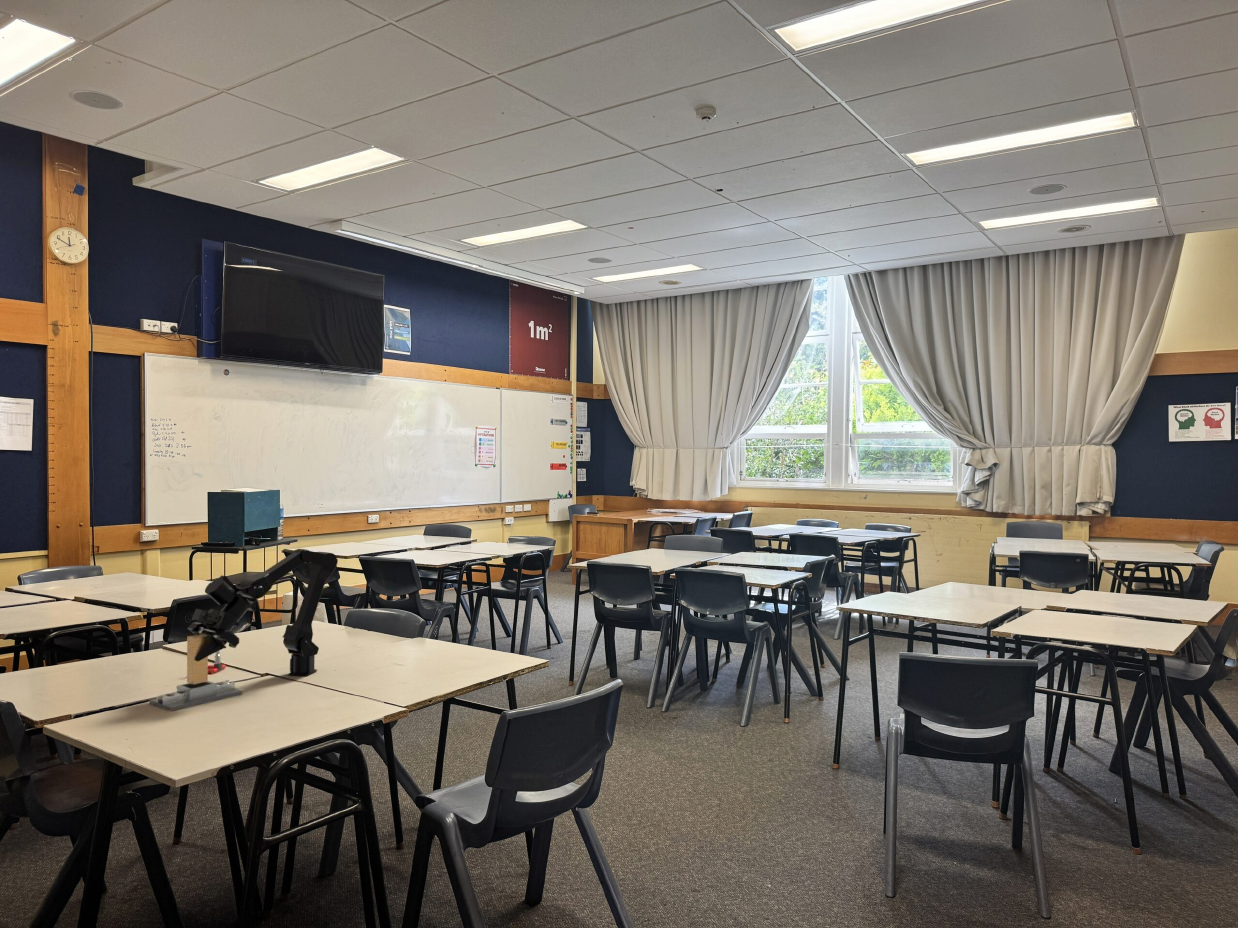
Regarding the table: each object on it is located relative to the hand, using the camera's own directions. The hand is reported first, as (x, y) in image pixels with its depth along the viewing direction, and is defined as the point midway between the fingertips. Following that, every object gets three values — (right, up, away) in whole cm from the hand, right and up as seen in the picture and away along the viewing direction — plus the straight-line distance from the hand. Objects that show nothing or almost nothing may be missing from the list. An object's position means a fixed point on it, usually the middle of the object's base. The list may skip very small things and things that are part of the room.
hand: (192, 659), depth 222 cm
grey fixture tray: (+1, -11, +1) cm, 11 cm away
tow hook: (-12, -12, +31) cm, 35 cm away
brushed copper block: (+1, -7, +1) cm, 7 cm away
